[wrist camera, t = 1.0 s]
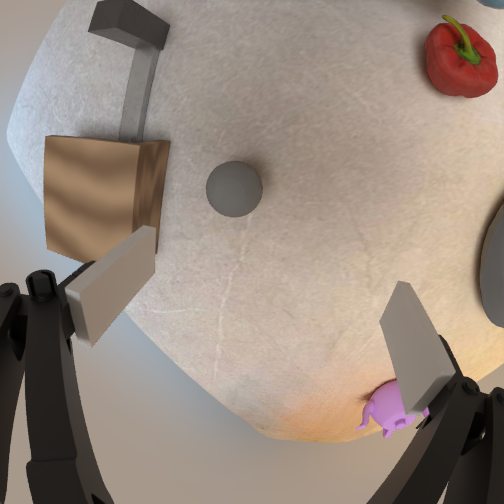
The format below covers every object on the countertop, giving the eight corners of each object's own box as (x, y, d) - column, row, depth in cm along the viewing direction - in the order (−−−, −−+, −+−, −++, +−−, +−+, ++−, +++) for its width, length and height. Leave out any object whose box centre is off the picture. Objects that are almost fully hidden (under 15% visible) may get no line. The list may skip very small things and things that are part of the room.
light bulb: (269, 199, 37) (261, 223, 28) (224, 202, 38) (202, 226, 29) (266, 154, 35) (256, 162, 26) (220, 158, 36) (194, 167, 27)
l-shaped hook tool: (145, 26, 29) (97, 1, 18) (169, 25, 29) (126, -4, 18) (118, 167, 38) (65, 185, 27) (140, 171, 38) (89, 190, 27)
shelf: (82, 131, 36) (45, 136, 29) (170, 141, 36) (139, 145, 28) (78, 229, 44) (47, 249, 36) (157, 253, 43) (130, 279, 35)
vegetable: (393, 53, 27) (422, 32, 18) (433, 19, 23) (466, -3, 14) (446, 115, 29) (487, 116, 20) (482, 78, 25) (523, 72, 16)
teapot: (428, 391, 48) (438, 422, 40) (373, 418, 53) (377, 449, 45) (413, 364, 45) (425, 399, 37) (351, 395, 50) (355, 431, 42)
